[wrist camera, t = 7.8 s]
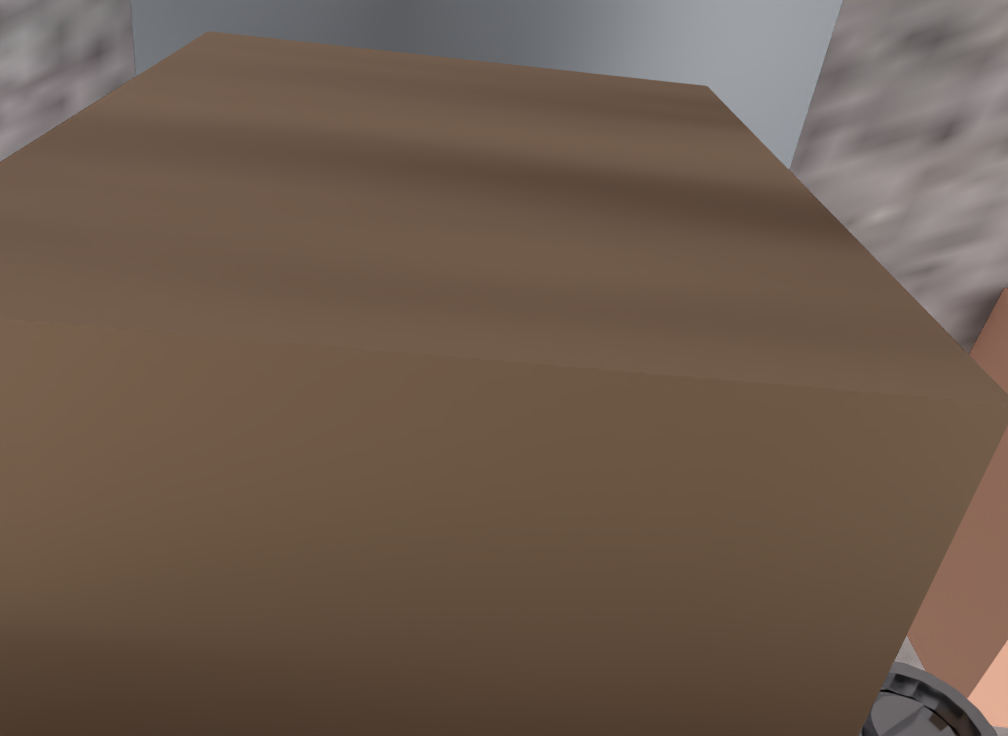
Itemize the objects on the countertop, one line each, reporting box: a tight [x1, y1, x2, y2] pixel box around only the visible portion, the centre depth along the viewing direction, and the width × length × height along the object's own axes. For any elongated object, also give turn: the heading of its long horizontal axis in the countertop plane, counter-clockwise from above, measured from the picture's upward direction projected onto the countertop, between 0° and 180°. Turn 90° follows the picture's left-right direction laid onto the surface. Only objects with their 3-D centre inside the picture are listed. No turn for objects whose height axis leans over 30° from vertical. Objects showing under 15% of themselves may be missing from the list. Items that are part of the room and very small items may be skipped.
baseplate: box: [131, 0, 843, 169], centre depth 20 cm, size 14×14×1 cm
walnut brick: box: [0, 31, 1008, 736], centre depth 8 cm, size 9×5×6 cm, turn 174°
